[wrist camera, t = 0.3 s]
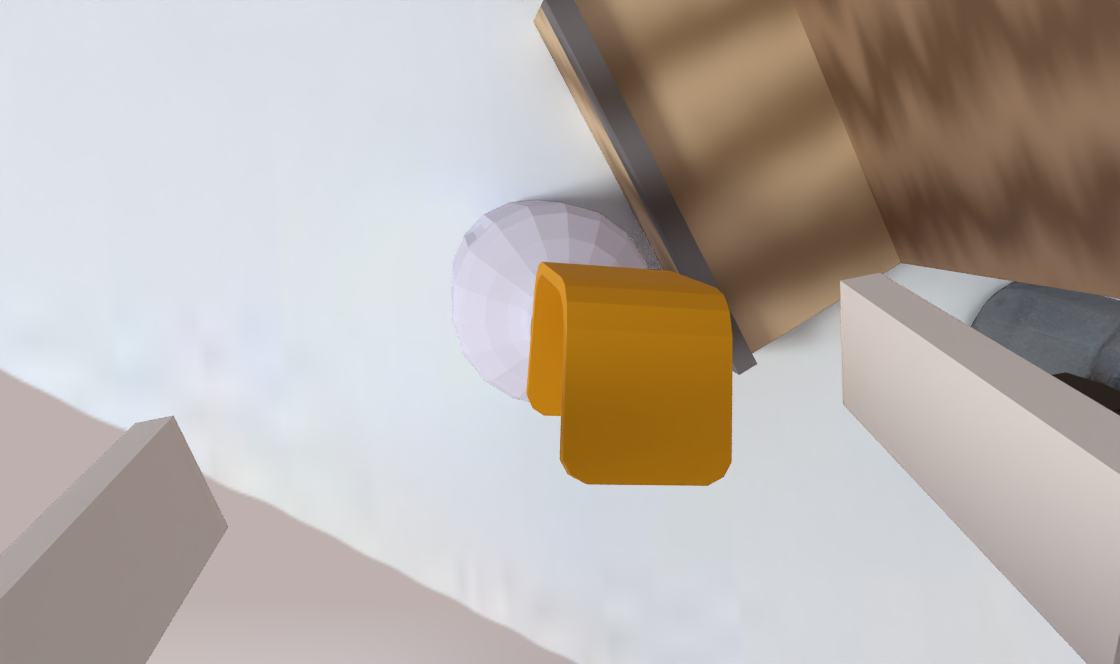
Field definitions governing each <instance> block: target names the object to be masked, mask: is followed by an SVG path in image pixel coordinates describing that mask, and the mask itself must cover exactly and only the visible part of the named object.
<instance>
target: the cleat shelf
mask: <svg viewBox="0 0 1120 664" xmlns="http://www.w3.org/2000/svg"><path fill="white" fill-rule="evenodd" d="M534 23H535V25H536V27H537V29H538V31H539V33H540V35H541V37H542V39H543V40H544V42H545V44H546V46H547V48H548V50H549V52H550V54H551V56H552V58H553V60H554V61H555V63H556V65H557V67H558V69H559V71H560V73H561V75H562V77H563V79H564V80H565V82H566V84H567V86H568V88H569V90H570V92H571V94H572V96H573V98H574V100H575V101H576V103H577V105H578V107H579V109H580V111H581V113H582V115H583V117H584V119H585V120H586V122H587V124H588V126H589V128H590V130H591V132H592V134H593V136H594V138H595V140H596V141H597V143H598V145H599V147H600V149H601V151H602V153H603V155H604V157H605V159H606V160H607V162H608V164H609V166H610V168H611V170H612V172H613V174H614V176H615V178H616V180H617V181H618V183H619V185H620V187H621V189H622V191H623V193H624V195H625V197H626V199H627V201H628V202H629V204H630V206H631V208H632V210H633V212H634V214H635V216H636V218H637V220H638V221H639V223H640V225H641V227H642V229H643V231H644V233H645V235H646V237H647V239H648V241H649V242H650V244H651V246H652V248H653V250H654V252H655V254H656V256H657V258H658V260H659V261H660V263H661V265H662V267H663V269H664V270H667V271H672V272H675V273H678V274H680V275H683V276H686V277H689V278H691V279H694V280H697V281H700V282H702V283H705V284H708V285H710V286H713V287H716V288H717V289H718V290H719V291H720V292H721V293H722V294H723V295H724V297H725V299H726V302H727V305H728V308H729V311H730V319H731V328H732V337H733V341H732V371H734V372H735V373H737V374H739V375H740V374H741V373H743V372H745V371H746V370H748V369H750V368H751V367H753V366H754V365H756V364H757V363H756V361H755V359H754V357H753V355H752V353H754V352H755V351H757V350H758V349H760V348H762V347H763V346H765V345H767V344H768V343H770V342H772V341H773V340H775V339H777V338H778V337H780V336H781V335H783V334H785V333H786V332H788V331H790V330H791V329H793V328H795V327H796V326H798V325H800V324H801V323H803V322H804V321H806V320H808V319H809V318H811V317H813V316H814V315H816V314H818V313H819V312H821V311H823V310H824V309H826V308H827V307H829V306H831V305H832V304H834V303H836V302H837V301H839V300H841V299H840V281H841V280H846V279H851V278H856V277H861V276H866V275H871V274H876V273H881V274H883V273H885V272H887V271H888V270H890V269H891V268H893V267H895V266H896V265H898V264H900V263H905V264H911V265H917V266H924V267H930V268H936V269H942V270H948V271H954V272H961V273H967V274H973V275H979V276H985V277H991V278H998V279H1004V280H1010V281H1016V282H1022V283H1028V284H1035V285H1041V286H1047V287H1053V288H1059V289H1066V290H1072V291H1078V292H1084V293H1090V294H1096V295H1103V296H1109V297H1115V298H1120V0H543V2H542V5H541V7H540V9H539V11H538V13H537V15H536V17H535V19H534Z"/></svg>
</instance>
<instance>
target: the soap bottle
mask: <svg viewBox="0 0 1120 664" xmlns="http://www.w3.org/2000/svg"><path fill="white" fill-rule="evenodd" d="M452 321H453V325H454V328H455V331H456V334H457V337H458V341H459V344H460V347H461V350H462V353H463V354H464V356H465V357H466V358H467V359H468V361H469V362H470V363H471V365H472V366H473V367H474V368H475V370H476V371H477V372H478V374H479V375H480V376H481V377H482V379H483V380H484V381H486V382H487V383H489V384H491V385H492V386H494V387H495V388H497V389H499V390H500V391H502V392H504V393H505V394H507V395H508V396H510V397H512V398H514V399H519V400H524V401H528V402H530V403H531V405H532V407H533V408H534V409H535V410H537V411H538V412H540V413H541V414H543V415H547V416H561V436H560V461H561V463H562V464H563V466H564V468H565V470H566V472H567V474H569V475H571V476H572V477H574V478H576V479H578V480H580V481H581V482H583V483H585V484H606V485H694V486H708V485H710V484H711V483H713V482H715V481H717V480H719V479H721V478H723V477H724V475H725V473H726V472H727V470H728V468H729V466H730V464H731V452H732V341H733V337H732V328H731V319H730V311H729V308H728V305H727V302H726V299H725V297H724V295H723V294H722V293H721V292H720V291H719V290H718V289H717V288H716V287H713V286H710V285H708V284H705V283H702V282H700V281H697V280H694V279H691V278H689V277H686V276H683V275H680V274H678V273H675V272H672V271H667V270H653V269H648V268H647V264H646V261H645V260H644V258H643V257H642V255H641V254H640V252H639V251H638V249H637V248H636V246H635V245H634V243H633V242H632V240H631V238H630V237H629V235H628V234H627V233H626V232H625V231H623V230H622V229H621V228H619V227H618V226H616V225H615V224H614V223H612V222H611V221H610V220H608V219H607V218H605V217H604V216H603V215H601V214H600V213H598V212H595V211H591V210H587V209H584V208H580V207H577V206H573V205H569V204H566V203H559V202H550V201H542V200H531V201H521V202H510V203H507V204H505V205H503V206H501V207H499V208H497V209H495V210H493V211H491V212H489V213H486V214H484V215H483V216H482V217H481V218H480V219H479V220H478V221H477V222H476V223H475V224H474V226H473V227H472V228H471V229H470V230H469V231H468V232H467V233H466V234H465V235H464V237H463V239H462V242H461V244H460V246H459V248H458V251H457V253H456V255H455V258H454V260H453V272H452Z"/></svg>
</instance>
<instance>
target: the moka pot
mask: <svg viewBox="0 0 1120 664" xmlns="http://www.w3.org/2000/svg"><path fill="white" fill-rule="evenodd" d="M971 327H972V328H973V329H975V330H977V331H978V332H980V333H982V334H983V335H985V336H987V337H988V338H990V339H992V340H993V341H995V342H997V343H998V344H1000V345H1002V346H1003V347H1005V348H1007V349H1008V350H1010V351H1012V352H1013V353H1015V354H1017V355H1018V356H1020V357H1022V358H1024V359H1025V360H1027V361H1029V362H1030V363H1032V364H1034V365H1035V366H1037V367H1039V368H1040V369H1042V370H1044V371H1045V372H1047V373H1049V374H1050V375H1054V374H1059V373H1064V372H1067V373H1070V374H1073V375H1076V376H1079V377H1083V378H1086V379H1089V380H1092V381H1095V382H1099V383H1102V384H1105V385H1108V386H1110V387H1112V388H1114V389H1116V390H1117V391H1119V392H1120V301H1118V300H1115V299H1111V298H1108V297H1104V296H1101V295H1096V294H1090V293H1084V292H1078V291H1072V290H1066V289H1059V288H1053V287H1047V286H1041V285H1035V284H1028V283H1022V282H1013V283H1011V284H1009V285H1007V286H1006V287H1004V288H1002V289H1001V290H1000V291H998V292H997V293H995V294H994V295H993V296H992V297H991V298H990V299H989V300H988V301H987V303H986V304H985V305H984V306H983V307H982V309H981V310H980V312H979V314H978V315H977V317H976V318H975V320H974V322H973V324H972V326H971Z"/></svg>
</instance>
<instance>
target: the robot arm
mask: <svg viewBox="0 0 1120 664" xmlns="http://www.w3.org/2000/svg"><path fill="white" fill-rule="evenodd" d="M840 299H841V343H842V388H843V405H844V406H845V407H846V408H847V409H848V410H849V411H850V412H851V413H852V415H853V416H854V417H855V418H856V419H857V420H858V421H859V422H860V423H861V424H862V425H863V426H864V427H865V428H866V429H867V430H868V432H869V433H870V434H871V435H872V436H873V437H874V438H875V439H876V440H877V441H878V442H879V443H880V444H881V445H882V446H883V447H884V449H885V450H886V451H887V452H888V453H889V454H890V455H891V456H892V457H893V458H894V459H895V460H896V461H897V462H898V463H899V464H900V466H901V467H902V468H903V469H904V470H905V471H906V472H907V473H908V474H909V475H910V476H911V477H912V478H913V479H914V480H915V481H916V483H917V484H918V485H919V486H920V487H921V488H922V489H923V490H924V491H925V492H926V493H927V494H928V495H929V496H930V497H931V498H932V500H933V501H934V502H935V503H936V504H937V505H938V506H939V507H940V508H941V509H942V510H943V511H944V512H945V513H946V514H947V515H948V517H949V518H950V519H951V520H952V521H953V522H954V523H955V524H956V525H957V526H958V527H959V528H960V529H961V530H962V531H963V532H964V534H965V535H966V536H967V537H968V538H969V539H970V540H971V541H972V542H973V543H974V544H975V545H976V546H977V547H978V548H979V549H980V551H981V552H982V553H983V554H984V555H985V556H986V557H987V558H988V559H989V560H990V561H991V562H992V563H993V564H994V565H995V566H996V568H997V569H998V570H999V571H1000V572H1001V573H1002V574H1003V575H1004V576H1005V577H1006V578H1007V579H1008V580H1009V581H1010V582H1011V583H1012V585H1013V586H1014V587H1015V588H1016V589H1017V590H1018V591H1019V592H1020V593H1021V594H1022V595H1023V596H1024V597H1025V598H1026V599H1027V600H1028V602H1029V603H1030V604H1031V605H1032V606H1033V607H1034V608H1035V609H1036V610H1037V611H1038V612H1039V613H1040V614H1041V615H1042V616H1043V617H1044V619H1045V620H1046V621H1047V622H1048V623H1049V624H1050V625H1051V626H1052V627H1053V628H1054V629H1055V630H1056V631H1057V632H1058V633H1059V634H1060V636H1061V637H1062V638H1063V639H1064V640H1065V641H1066V642H1067V643H1068V644H1069V645H1070V646H1071V647H1072V648H1073V649H1074V650H1075V651H1076V653H1077V654H1078V655H1079V656H1080V657H1081V658H1082V659H1083V660H1084V661H1085V662H1086V663H1087V664H1120V392H1119V391H1117V390H1116V389H1114V388H1112V387H1110V386H1108V385H1105V384H1102V383H1099V382H1095V381H1092V380H1089V379H1086V378H1083V377H1079V376H1076V375H1073V374H1070V373H1067V372H1064V373H1059V374H1054V375H1050V374H1049V373H1047V372H1045V371H1044V370H1042V369H1040V368H1039V367H1037V366H1035V365H1034V364H1032V363H1030V362H1029V361H1027V360H1025V359H1024V358H1022V357H1020V356H1018V355H1017V354H1015V353H1013V352H1012V351H1010V350H1008V349H1007V348H1005V347H1003V346H1002V345H1000V344H998V343H997V342H995V341H993V340H992V339H990V338H988V337H987V336H985V335H983V334H982V333H980V332H978V331H977V330H975V329H973V328H972V327H970V326H968V325H966V324H965V323H963V322H961V321H960V320H958V319H956V318H955V317H953V316H951V315H950V314H948V313H946V312H945V311H943V310H941V309H940V308H938V307H936V306H935V305H933V304H931V303H930V302H928V301H926V300H925V299H923V298H921V297H920V296H918V295H916V294H914V293H913V292H911V291H909V290H908V289H906V288H904V287H903V286H901V285H899V284H898V283H896V282H894V281H893V280H891V279H889V278H888V277H886V276H884V275H883V274H881V273H876V274H871V275H866V276H861V277H856V278H851V279H846V280H841V281H840ZM227 528H228V525H227V523H226V521H225V519H224V517H223V515H222V514H221V511H220V509H219V507H218V505H217V503H216V501H215V499H214V497H213V495H212V493H211V491H210V489H209V487H208V485H207V483H206V481H205V479H204V477H203V475H202V472H201V470H200V468H199V466H198V464H197V462H196V460H195V458H194V456H193V454H192V452H191V450H190V448H189V446H188V444H187V442H186V440H185V438H184V436H183V434H182V432H181V430H180V428H179V426H178V424H177V422H176V420H175V418H174V416H169V417H164V418H159V419H154V420H149V421H144V422H139V423H135V424H134V425H133V426H132V427H131V428H130V429H129V430H128V431H127V432H126V433H125V434H124V435H123V436H122V437H121V438H120V439H119V440H118V441H117V442H116V443H115V444H114V445H112V447H110V449H108V450H107V451H106V452H105V453H104V454H103V455H102V456H101V457H100V458H99V459H98V460H97V461H96V462H95V463H94V464H93V465H92V466H91V467H90V468H89V469H88V470H87V471H86V472H85V473H84V474H83V475H82V476H81V477H80V478H79V479H78V480H76V482H74V484H72V485H71V486H70V487H69V488H68V489H67V490H66V491H65V492H64V493H63V494H62V495H61V496H60V497H59V498H58V499H57V500H56V501H55V502H54V503H53V504H52V505H51V506H50V507H49V508H48V509H47V510H46V511H45V512H44V513H43V514H42V515H41V516H40V517H38V518H37V519H36V521H34V522H33V523H32V524H31V525H30V526H29V527H28V528H27V529H26V530H25V531H24V532H23V533H22V534H21V535H20V536H19V537H18V538H17V539H16V540H15V541H14V542H13V543H12V544H11V545H10V546H9V547H8V548H7V549H6V550H5V551H4V552H3V553H1V555H0V664H146V662H147V660H148V659H149V657H150V656H151V654H152V652H153V651H154V649H155V647H156V645H157V644H158V642H159V641H160V639H161V637H162V636H163V634H164V632H165V630H166V629H167V627H168V626H169V624H170V622H171V621H172V619H173V617H174V616H175V614H176V612H177V611H178V609H179V608H180V606H181V604H182V603H183V601H184V599H185V598H186V596H187V594H188V593H189V591H190V589H191V588H192V586H193V584H194V583H195V581H196V579H197V578H198V576H199V574H200V573H201V571H202V570H203V567H204V566H205V565H206V563H207V561H208V560H209V558H210V556H211V554H212V553H213V551H214V550H215V548H216V546H217V545H218V543H219V541H220V540H221V538H222V536H223V535H224V533H225V532H226V530H227Z"/></svg>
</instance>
